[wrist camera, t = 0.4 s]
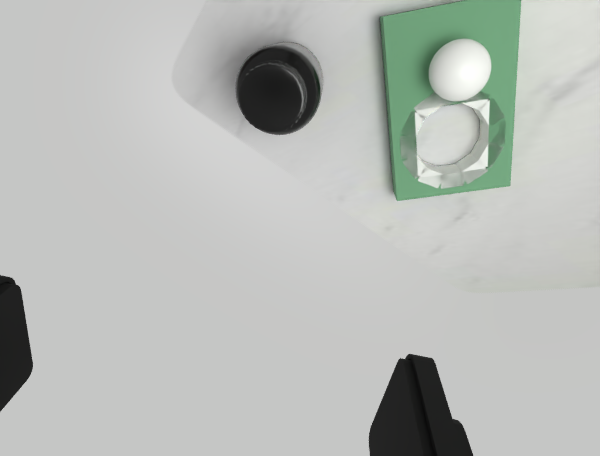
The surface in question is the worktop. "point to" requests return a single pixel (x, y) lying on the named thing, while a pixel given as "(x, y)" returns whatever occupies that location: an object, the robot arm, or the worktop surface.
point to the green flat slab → (424, 101)
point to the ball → (459, 69)
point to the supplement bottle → (279, 88)
